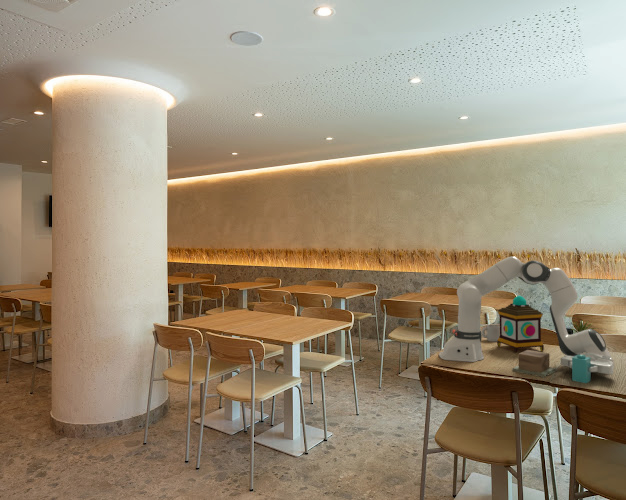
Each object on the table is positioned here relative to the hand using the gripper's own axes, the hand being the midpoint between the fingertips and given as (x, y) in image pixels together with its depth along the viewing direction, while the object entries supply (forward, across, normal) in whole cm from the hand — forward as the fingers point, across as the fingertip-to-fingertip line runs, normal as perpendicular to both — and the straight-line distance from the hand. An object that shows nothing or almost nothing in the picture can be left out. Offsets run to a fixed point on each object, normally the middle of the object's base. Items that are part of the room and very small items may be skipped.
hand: (580, 368), depth 194 cm
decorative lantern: (-37, -42, +6) cm, 56 cm away
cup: (-45, -64, +6) cm, 78 cm away
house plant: (-60, -18, +6) cm, 63 cm away
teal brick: (-1, 0, +6) cm, 6 cm away
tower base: (-1, -20, +6) cm, 21 cm away
